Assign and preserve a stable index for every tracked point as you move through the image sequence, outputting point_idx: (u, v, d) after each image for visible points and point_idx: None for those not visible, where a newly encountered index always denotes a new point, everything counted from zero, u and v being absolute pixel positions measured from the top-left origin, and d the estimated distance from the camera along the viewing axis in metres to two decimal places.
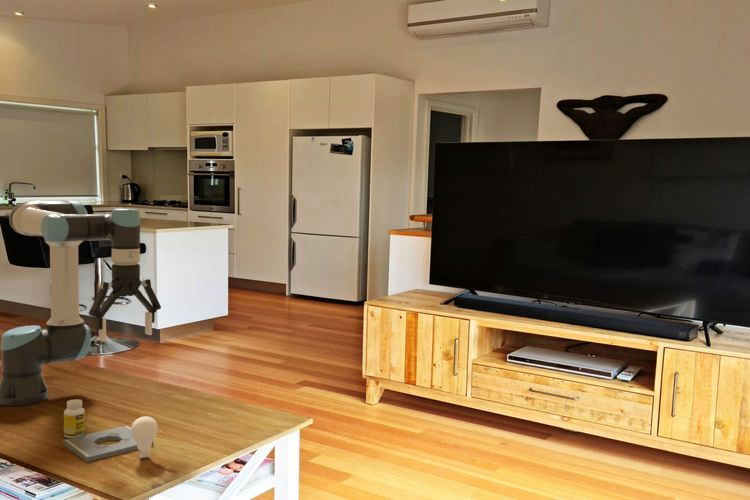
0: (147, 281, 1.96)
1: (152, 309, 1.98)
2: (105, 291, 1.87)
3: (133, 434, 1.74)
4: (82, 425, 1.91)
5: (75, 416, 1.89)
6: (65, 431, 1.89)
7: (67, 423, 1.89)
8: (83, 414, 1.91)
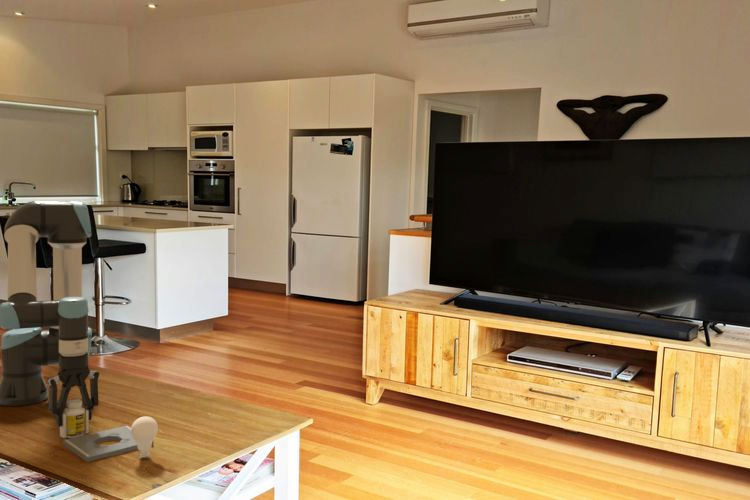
0: (96, 373, 1.93)
1: (89, 406, 1.93)
2: (55, 387, 1.86)
3: (133, 434, 1.74)
4: (82, 425, 1.91)
5: (75, 416, 1.89)
6: None
7: (67, 423, 1.89)
8: (83, 414, 1.91)
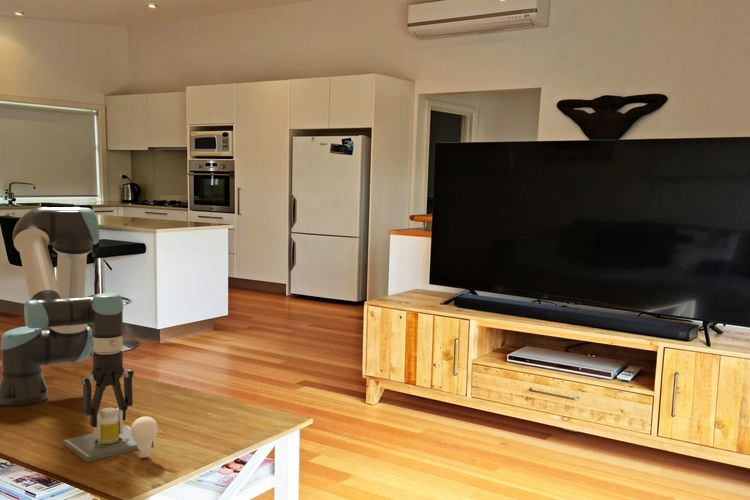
0: (130, 372, 1.87)
1: (123, 406, 1.86)
2: (89, 387, 1.79)
3: (133, 434, 1.74)
4: None
5: (118, 422, 1.85)
6: (109, 441, 1.83)
7: (112, 432, 1.83)
8: None
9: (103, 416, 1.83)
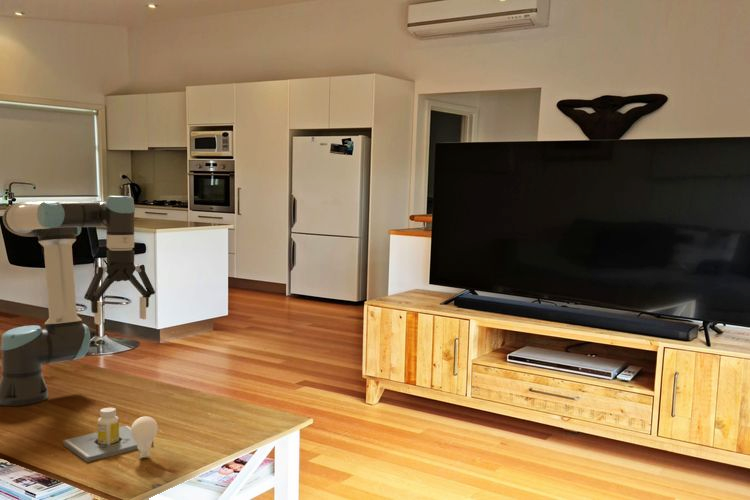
0: (141, 266, 2.02)
1: (146, 294, 2.03)
2: (100, 275, 1.93)
3: (133, 434, 1.74)
4: None
5: None
6: (117, 438, 1.85)
7: (118, 429, 1.86)
8: None
9: (110, 416, 1.83)
